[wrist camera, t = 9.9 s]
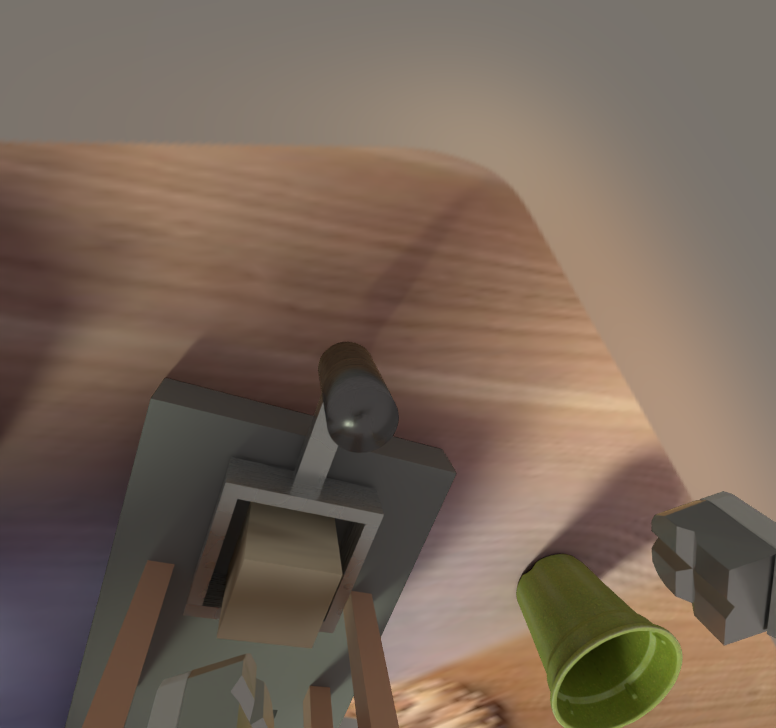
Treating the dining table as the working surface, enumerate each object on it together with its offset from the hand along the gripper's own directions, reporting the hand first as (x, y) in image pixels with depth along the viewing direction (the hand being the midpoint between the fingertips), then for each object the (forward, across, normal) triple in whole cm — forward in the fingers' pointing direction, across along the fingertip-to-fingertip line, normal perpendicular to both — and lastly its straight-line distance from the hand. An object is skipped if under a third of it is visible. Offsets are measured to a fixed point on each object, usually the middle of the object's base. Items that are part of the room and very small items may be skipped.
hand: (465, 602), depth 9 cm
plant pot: (+21, -11, +25) cm, 34 cm away
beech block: (+18, +7, +11) cm, 22 cm away
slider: (+17, +4, +7) cm, 19 cm away
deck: (+21, +12, +18) cm, 29 cm away
